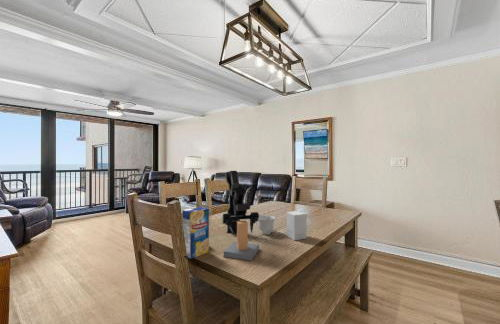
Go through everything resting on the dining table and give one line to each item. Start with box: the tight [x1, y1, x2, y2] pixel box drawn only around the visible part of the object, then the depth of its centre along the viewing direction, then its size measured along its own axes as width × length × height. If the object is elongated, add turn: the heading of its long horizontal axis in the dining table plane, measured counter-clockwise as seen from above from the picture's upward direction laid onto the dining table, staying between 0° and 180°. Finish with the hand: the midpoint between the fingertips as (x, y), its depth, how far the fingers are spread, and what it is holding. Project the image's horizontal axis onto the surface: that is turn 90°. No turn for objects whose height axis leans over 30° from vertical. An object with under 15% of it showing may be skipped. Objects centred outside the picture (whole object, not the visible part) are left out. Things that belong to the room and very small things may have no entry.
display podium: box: [223, 241, 260, 261], centre depth 116 cm, size 14×14×2 cm
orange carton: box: [236, 220, 249, 250], centre depth 116 cm, size 5×5×13 cm
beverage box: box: [182, 206, 210, 259], centre depth 115 cm, size 7×11×22 cm, turn 138°
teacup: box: [257, 214, 276, 235], centre depth 149 cm, size 12×15×10 cm
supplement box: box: [286, 210, 308, 241], centre depth 139 cm, size 9×9×15 cm
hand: (242, 232), depth 114 cm, fingers open, 9 cm apart
